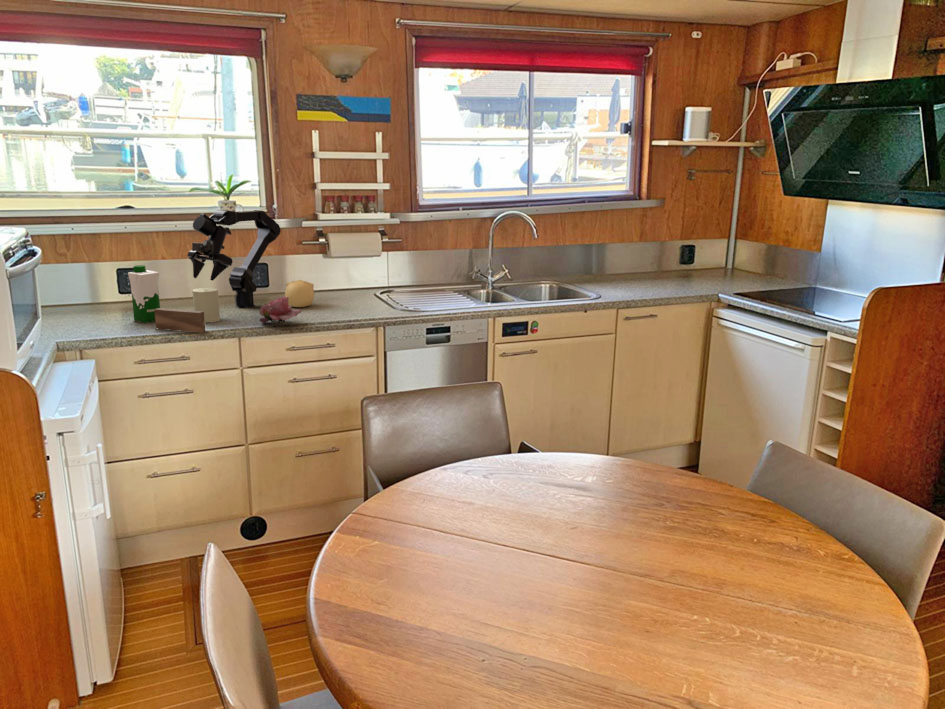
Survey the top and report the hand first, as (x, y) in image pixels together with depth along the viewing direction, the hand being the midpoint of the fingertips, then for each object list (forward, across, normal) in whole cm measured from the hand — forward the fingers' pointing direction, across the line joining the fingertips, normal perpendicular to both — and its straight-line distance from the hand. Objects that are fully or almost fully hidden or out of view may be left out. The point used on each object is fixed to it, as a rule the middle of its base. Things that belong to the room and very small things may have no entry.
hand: (203, 279), depth 291 cm
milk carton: (+21, -10, -9) cm, 25 cm away
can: (+15, +7, +2) cm, 17 cm away
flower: (+11, +35, +10) cm, 38 cm away
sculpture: (-3, +18, +36) cm, 40 cm away
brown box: (+23, +12, -12) cm, 29 cm away
